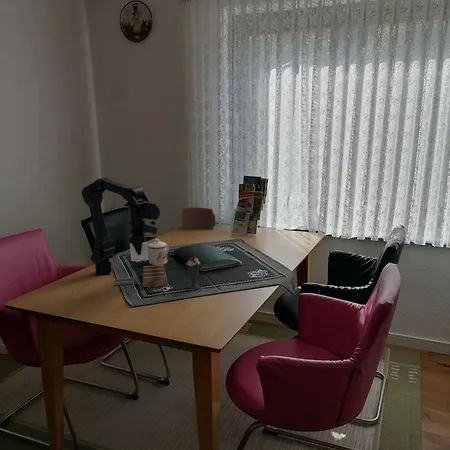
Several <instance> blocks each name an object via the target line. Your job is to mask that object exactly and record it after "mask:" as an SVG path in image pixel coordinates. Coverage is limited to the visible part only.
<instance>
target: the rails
mask: <svg viewBox="0 0 450 450" xmlns="http://www.w3.org/2000/svg"><path fill="white" fill-rule="evenodd" d="M135 281H136V280H135V277H124V278H123V277H122V278H115V281H114V286H127V284H128V285H135Z"/></svg>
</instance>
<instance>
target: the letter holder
mask: <svg viewBox="0 0 450 450" xmlns="http://www.w3.org/2000/svg"><path fill="white" fill-rule="evenodd" d="M214 213H215V212H213V209H212V208H206V207H185V208H183V209H181V222H182V223H181V225H182V226H181V228H182V230H198V231H199V230H205V231H206V230H207V231H209V230H210V231H211V230H214V229H215V227H216V216H215V214H214Z"/></svg>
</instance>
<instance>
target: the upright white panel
mask: <svg viewBox="0 0 450 450" xmlns="http://www.w3.org/2000/svg"><path fill="white" fill-rule="evenodd" d="M129 248H130V249H129V250H130V261H131V260H146V259H147V260H149V249H148V242H147V241H146V242H143V243H142V248H141V255H138V254H137V252H136V250H135V248H134V247H133V245H132V243H130V242H129Z"/></svg>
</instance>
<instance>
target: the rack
mask: <svg viewBox="0 0 450 450" xmlns="http://www.w3.org/2000/svg"><path fill="white" fill-rule="evenodd" d="M142 268H143V273H142V288H143V287H148V288H157V287H156V286H160V287H168V285H169V284H168V280H167V273H166V270H165V269H166V267H165V264H163V265H146V266H145V265H144V266H143V267H142Z"/></svg>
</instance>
